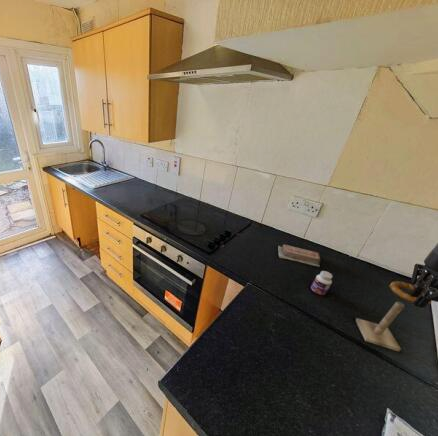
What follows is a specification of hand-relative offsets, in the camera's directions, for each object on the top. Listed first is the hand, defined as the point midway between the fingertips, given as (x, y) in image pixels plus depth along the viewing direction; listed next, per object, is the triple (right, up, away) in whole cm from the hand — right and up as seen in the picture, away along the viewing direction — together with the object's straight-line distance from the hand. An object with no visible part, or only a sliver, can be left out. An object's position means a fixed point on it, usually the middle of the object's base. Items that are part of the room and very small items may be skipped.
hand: (415, 302), depth 67 cm
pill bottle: (-7, -7, +30) cm, 31 cm away
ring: (+1, +2, +2) cm, 4 cm away
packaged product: (-1, +4, +51) cm, 51 cm away
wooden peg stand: (0, -16, +12) cm, 20 cm away
